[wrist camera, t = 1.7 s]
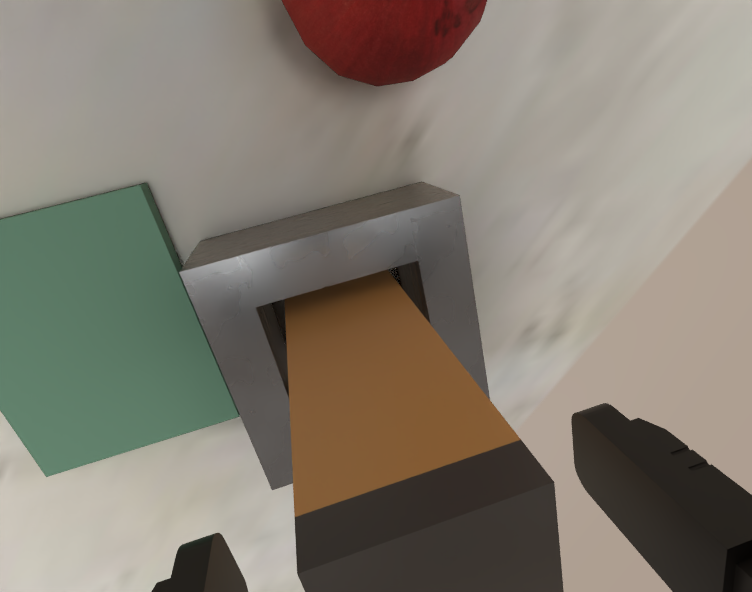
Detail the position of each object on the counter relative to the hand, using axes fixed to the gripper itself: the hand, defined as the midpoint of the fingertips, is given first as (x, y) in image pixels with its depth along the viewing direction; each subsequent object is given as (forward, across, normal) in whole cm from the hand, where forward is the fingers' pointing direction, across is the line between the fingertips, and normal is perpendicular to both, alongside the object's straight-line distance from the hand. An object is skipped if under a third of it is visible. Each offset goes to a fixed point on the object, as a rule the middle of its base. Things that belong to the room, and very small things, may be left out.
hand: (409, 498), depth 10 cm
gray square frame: (+10, 0, 0) cm, 10 cm away
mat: (+10, +10, -2) cm, 14 cm away
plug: (+10, 0, 0) cm, 10 cm away
